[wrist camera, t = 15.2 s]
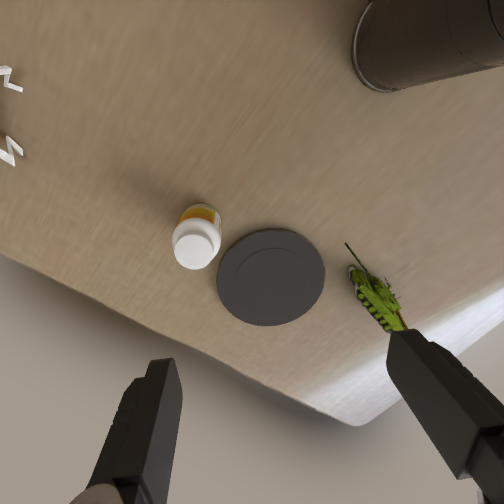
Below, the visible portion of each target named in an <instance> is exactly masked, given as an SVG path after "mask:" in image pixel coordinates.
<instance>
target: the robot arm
mask: <svg viewBox="0 0 504 504" xmlns="http://www.w3.org/2000/svg"><path fill="white" fill-rule="evenodd" d="M352 60H353V65H354V68H355V71H356V73H357V75H358V77H359V78H360V80H361V81H362V82H363V83H364V84H365V85H366V86H367V87H369V88H370V89H372V90H374V91H377V92H383V93H388V92H394V91H398V90H401V89H405V88H408V87H412V86H416V85H421V84H425V83H430V82H434V81H438V80H443V79H447V78H452V77H456V76H460V75H465V74H469V73H473V72H478V71H482V70H487V69H491V68H495V67H500V66H504V0H369V4H368V6H367V7H366V9H365V10H364V11H363V13H362V15H361V16H360V18H359V20H358V23H357V25H356V28H355V31H354V35H353V40H352ZM386 366H387V371H388V374H389V376H390V378H391V380H392V381H393V383H394V384H395V386H396V387H397V389H398V391H399V392H400V394H401V395H402V397H403V398H404V400H405V401H406V403H407V404H408V406H409V407H410V409H411V410H412V412H413V413H414V415H415V416H416V418H417V419H418V421H419V422H420V424H421V425H422V427H423V429H424V430H425V432H426V433H427V434H428V436H429V437H430V439H431V441H432V442H433V444H434V445H435V447H436V448H437V450H438V451H439V453H440V454H441V456H442V457H443V459H444V460H445V462H446V463H447V465H448V467H449V468H450V470H451V471H452V473H453V474H454V476H455V477H456V479H457V480H460V479H466V478H473V479H474V480H475V482H476V483H477V485H478V486H479V489H478V504H504V405H503V404H502V403H501V402H500V401H499V400H498V399H497V398H496V397H495V396H494V395H493V394H492V393H491V392H490V391H489V390H488V389H487V388H486V387H485V386H484V385H483V384H482V383H481V382H480V381H479V380H478V379H477V378H474V377H473V374H472V373H471V372H470V371H469V370H468V369H467V368H466V367H463V365H462V363H461V362H460V361H459V360H458V359H457V358H456V357H455V356H454V355H453V354H452V353H451V352H450V351H448V350H446V349H445V348H443V347H442V346H440V345H438V344H437V343H435V342H428V340H427V339H426V338H425V337H424V336H423V335H422V334H421V333H420V332H419V331H418V330H416V329H407V330H399V331H393V332H392V333H391V336H390V342H389V348H388V354H387V360H386ZM181 409H182V387H181V383H180V379H179V375H178V371H177V368H176V364H175V360H174V359H173V358H166V359H159V360H151V361H150V363H149V366H148V368H147V372H146V375H145V377H141V378H136V379H134V381H133V382H132V383H131V385H130V386H129V387H128V388H127V389H126V391H125V392H124V394H123V397H122V399H121V402H120V404H119V407H118V411H117V412H116V415H115V417H114V420H113V425H111V428H110V430H109V433H108V435H107V438H106V440H105V443H104V446H103V448H102V451H101V453H100V456H99V459H98V461H97V463H96V466H95V469H94V471H93V474H92V477H91V479H90V481H89V483H88V485H87V487H86V489H85V490H84V491H83V492H82V493H80V494H79V495H78V496H77V497H76V498H75V499H74V500H73V501H72V502H71V503H70V504H166V503H167V496H168V490H169V484H170V478H171V471H172V465H173V459H174V453H175V446H176V440H177V433H178V428H179V421H180V414H181Z"/></svg>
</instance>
